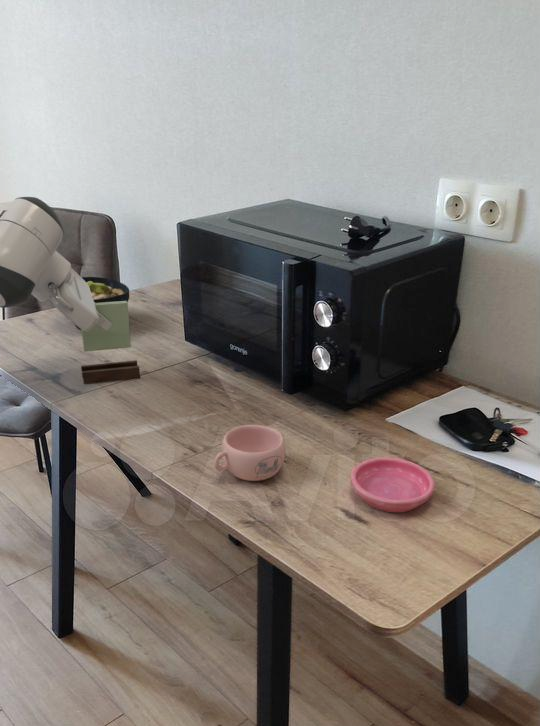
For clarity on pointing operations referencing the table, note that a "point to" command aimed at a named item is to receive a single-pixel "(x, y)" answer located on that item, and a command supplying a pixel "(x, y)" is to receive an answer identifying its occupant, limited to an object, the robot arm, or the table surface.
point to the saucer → (392, 484)
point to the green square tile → (115, 334)
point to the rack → (110, 372)
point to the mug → (252, 452)
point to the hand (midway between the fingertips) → (108, 324)
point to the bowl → (106, 290)
